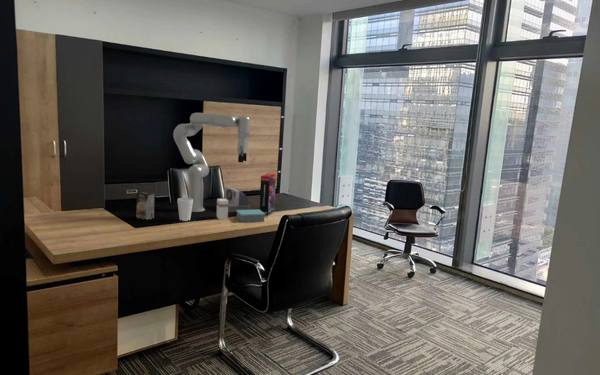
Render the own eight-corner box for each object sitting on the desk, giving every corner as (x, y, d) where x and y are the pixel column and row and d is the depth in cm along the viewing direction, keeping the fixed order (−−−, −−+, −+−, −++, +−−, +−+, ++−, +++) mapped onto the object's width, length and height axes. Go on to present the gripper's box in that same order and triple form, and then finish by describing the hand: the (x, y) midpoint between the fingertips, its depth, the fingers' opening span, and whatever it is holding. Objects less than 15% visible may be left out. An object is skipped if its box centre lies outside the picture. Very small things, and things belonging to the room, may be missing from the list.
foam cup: (195, 219, 277) (195, 199, 275) (187, 222, 268) (188, 201, 266) (181, 217, 279) (182, 197, 277) (174, 220, 270) (174, 199, 268)
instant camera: (215, 206, 320) (216, 186, 317) (242, 205, 329) (243, 185, 327) (224, 212, 301) (225, 191, 299) (252, 211, 311) (253, 190, 308)
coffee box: (135, 217, 270) (135, 192, 267) (143, 216, 276) (143, 191, 273) (147, 220, 266) (147, 194, 264) (154, 218, 272) (154, 192, 269)
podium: (240, 222, 276) (241, 214, 275) (235, 217, 288) (236, 209, 287) (265, 221, 283) (265, 213, 282) (258, 217, 294) (259, 209, 294)
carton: (219, 219, 280) (219, 201, 278) (216, 216, 288) (217, 198, 286) (227, 219, 282) (228, 201, 280) (224, 216, 290) (225, 198, 288)
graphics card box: (268, 216, 298) (270, 176, 294) (258, 215, 300) (260, 175, 295) (274, 211, 315) (276, 174, 311) (265, 210, 316) (267, 173, 312)
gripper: (240, 134, 295) (239, 160, 298) (234, 135, 278) (233, 162, 281) (251, 135, 295) (250, 160, 297) (246, 136, 278) (244, 163, 280)
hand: (242, 161), depth 289 cm, fingers open, 9 cm apart
